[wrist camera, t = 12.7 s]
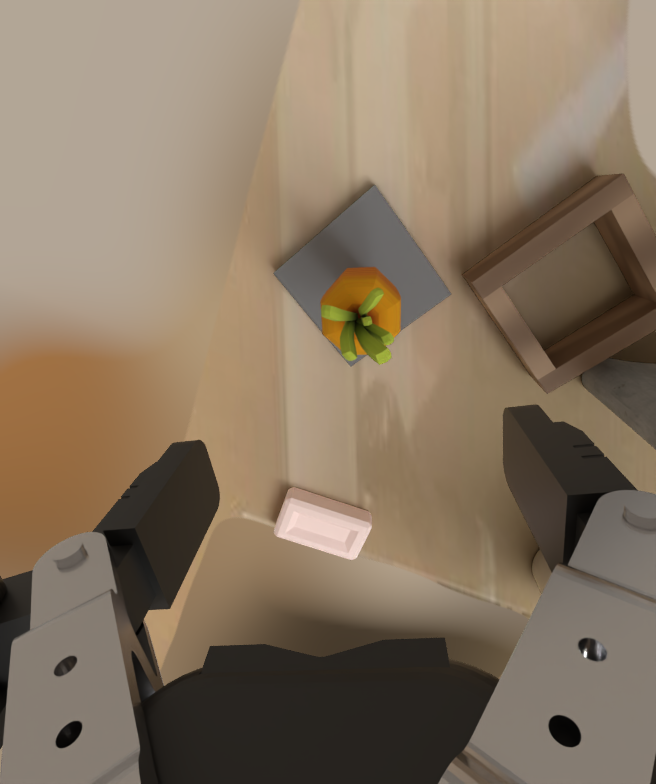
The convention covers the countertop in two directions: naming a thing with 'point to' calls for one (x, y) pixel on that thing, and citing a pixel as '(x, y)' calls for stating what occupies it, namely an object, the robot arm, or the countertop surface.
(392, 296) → the carrot
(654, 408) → the hip flask
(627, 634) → the robot arm
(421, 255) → the mat
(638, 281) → the socket collar
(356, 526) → the soap bar
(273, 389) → the countertop surface
